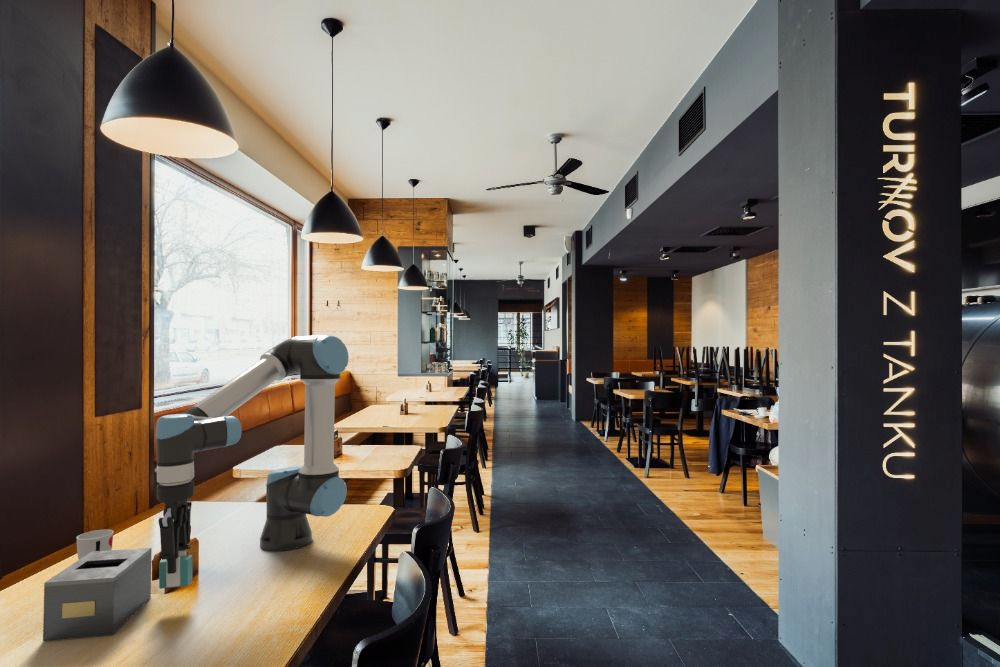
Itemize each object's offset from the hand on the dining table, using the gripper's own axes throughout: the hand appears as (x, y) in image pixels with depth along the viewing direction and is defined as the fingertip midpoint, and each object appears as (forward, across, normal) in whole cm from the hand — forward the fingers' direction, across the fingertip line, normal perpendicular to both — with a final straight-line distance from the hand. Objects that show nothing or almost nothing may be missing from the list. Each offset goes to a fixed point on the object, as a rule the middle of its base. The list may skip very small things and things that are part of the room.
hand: (176, 582), depth 127 cm
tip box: (+6, +2, -15) cm, 16 cm away
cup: (+6, -28, -31) cm, 42 cm away
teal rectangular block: (+1, 0, 0) cm, 1 cm away
